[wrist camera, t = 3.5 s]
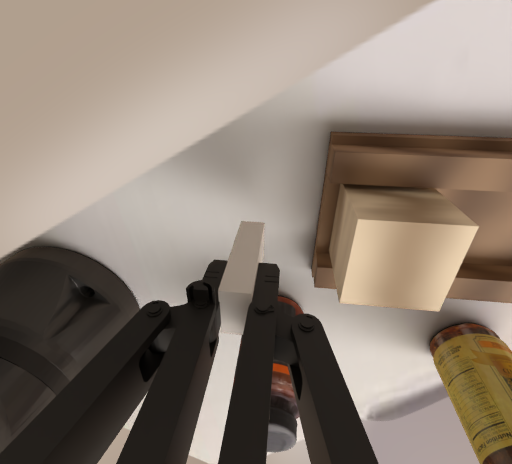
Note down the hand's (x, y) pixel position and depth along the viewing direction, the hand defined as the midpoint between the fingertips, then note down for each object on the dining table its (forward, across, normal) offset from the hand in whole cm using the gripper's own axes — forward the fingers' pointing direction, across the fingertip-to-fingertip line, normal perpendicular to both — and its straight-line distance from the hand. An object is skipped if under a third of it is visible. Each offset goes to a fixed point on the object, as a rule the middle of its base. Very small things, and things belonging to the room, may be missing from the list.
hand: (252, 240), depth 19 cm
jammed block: (+4, +9, 0) cm, 10 cm away
